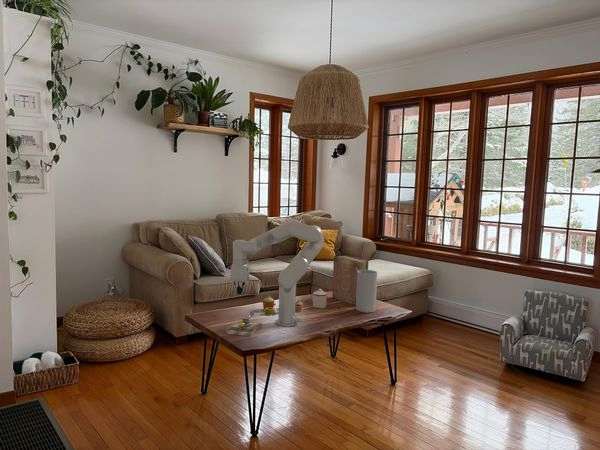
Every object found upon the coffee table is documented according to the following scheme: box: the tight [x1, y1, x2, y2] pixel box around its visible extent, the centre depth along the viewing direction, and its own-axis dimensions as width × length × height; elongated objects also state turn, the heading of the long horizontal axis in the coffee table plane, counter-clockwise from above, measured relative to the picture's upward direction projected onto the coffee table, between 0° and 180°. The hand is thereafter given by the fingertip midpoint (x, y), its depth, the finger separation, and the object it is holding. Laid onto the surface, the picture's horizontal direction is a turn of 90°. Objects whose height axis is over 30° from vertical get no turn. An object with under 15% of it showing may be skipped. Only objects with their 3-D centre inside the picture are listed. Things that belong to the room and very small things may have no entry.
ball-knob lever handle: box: [239, 311, 254, 328], centre depth 255 cm, size 23×6×4 cm, turn 172°
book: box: [332, 254, 369, 307], centre depth 316 cm, size 25×9×30 cm, turn 35°
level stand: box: [225, 320, 263, 337], centre depth 250 cm, size 14×18×2 cm
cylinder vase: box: [355, 269, 378, 314], centre depth 295 cm, size 12×12×25 cm
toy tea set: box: [260, 295, 304, 316], centre depth 288 cm, size 26×16×10 cm, turn 113°
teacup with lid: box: [310, 288, 328, 309], centre depth 301 cm, size 12×9×12 cm
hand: (239, 293), depth 263 cm, fingers closed
